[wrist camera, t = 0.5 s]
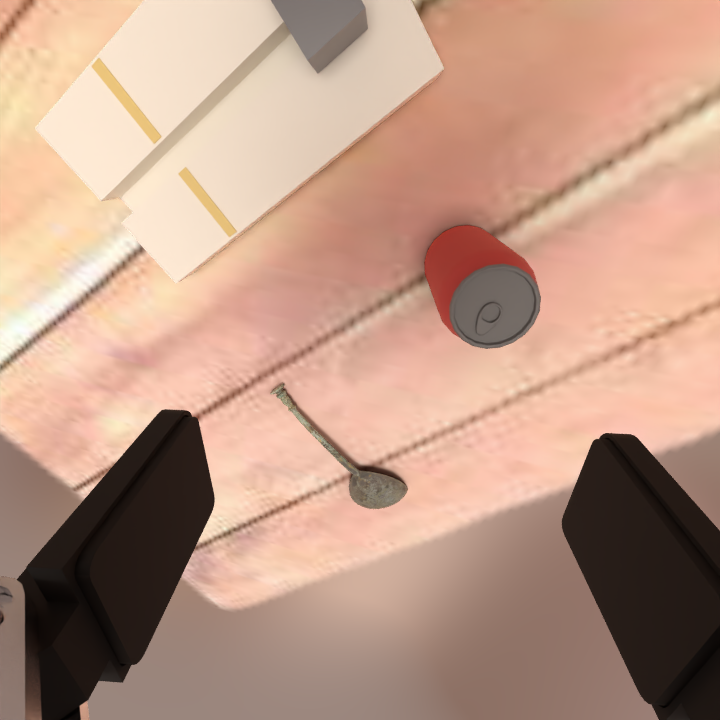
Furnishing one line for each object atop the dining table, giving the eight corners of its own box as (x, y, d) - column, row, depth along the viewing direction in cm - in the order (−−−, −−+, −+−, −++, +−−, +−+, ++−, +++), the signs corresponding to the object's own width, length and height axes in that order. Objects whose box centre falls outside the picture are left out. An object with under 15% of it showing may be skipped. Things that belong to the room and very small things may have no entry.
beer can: (411, 283, 36) (424, 336, 25) (443, 212, 33) (472, 238, 22) (476, 307, 37) (514, 369, 26) (512, 240, 34) (572, 279, 23)
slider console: (323, -153, 24) (313, -201, 20) (437, 77, 29) (444, 68, 25) (68, 130, 31) (33, 128, 28) (193, 272, 36) (175, 284, 33)
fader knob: (325, -42, 25) (308, -101, 19) (369, 39, 27) (365, 7, 21) (278, 5, 26) (248, -37, 20) (323, 80, 28) (307, 60, 22)
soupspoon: (374, 507, 51) (415, 485, 50) (375, 529, 48) (419, 506, 47) (256, 398, 43) (300, 366, 41) (249, 416, 40) (296, 382, 38)
